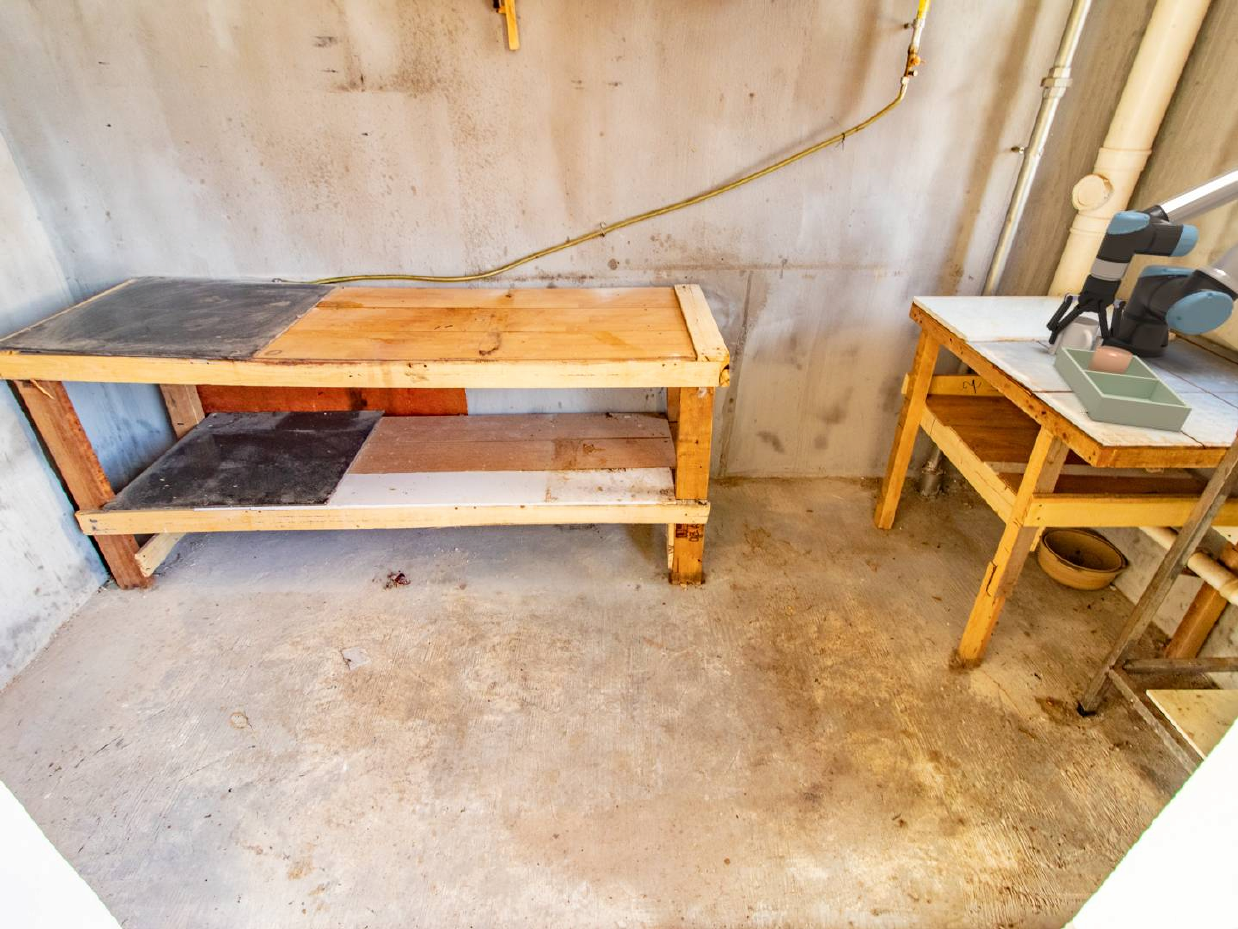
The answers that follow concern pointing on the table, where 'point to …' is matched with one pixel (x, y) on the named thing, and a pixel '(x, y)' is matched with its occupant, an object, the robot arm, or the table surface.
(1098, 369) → the peach rounded cylinder
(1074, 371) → the caddy
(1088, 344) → the mug
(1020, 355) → the table surface
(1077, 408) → the table surface
